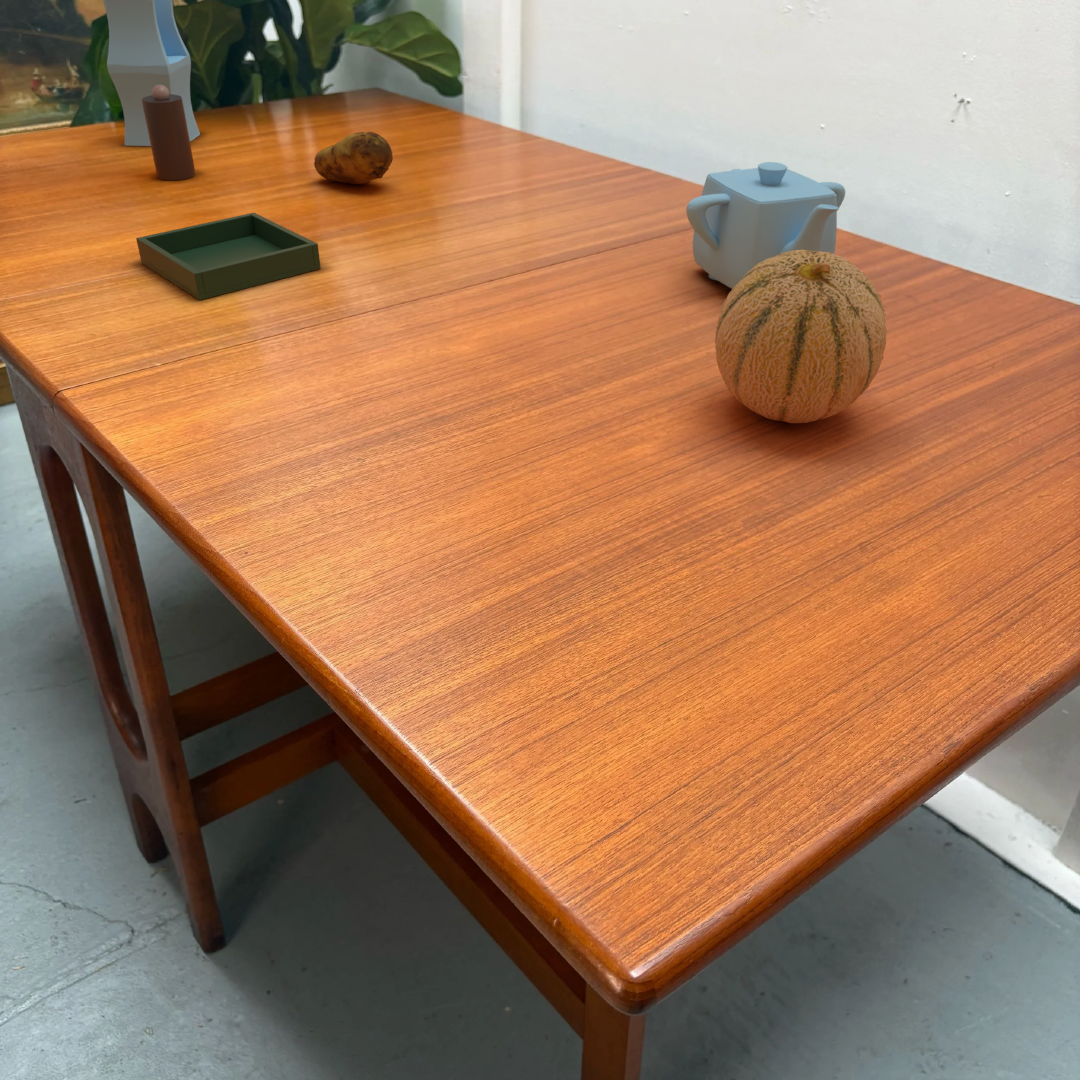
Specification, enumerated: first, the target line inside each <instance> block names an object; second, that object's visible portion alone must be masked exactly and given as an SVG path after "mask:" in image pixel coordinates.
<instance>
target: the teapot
mask: <svg viewBox="0 0 1080 1080" xmlns="http://www.w3.org/2000/svg"><path fill="white" fill-rule="evenodd" d="M845 196H846V188H845V186H844V185H843V184H841V183H839V182H835V181H821V182H820V181H819V182H818V181H816V180H815V179H812V178H810V177H808V176H805V175H803V174H802V173H798V172H796V171H794V170H791V169H788V166H787V165H785V164H783V163H781V162H775V161H767V162H762V163H761V162H760V163H759V164H757V167H754V168H743V169H740V168H735V169H734V168H733V169H731V170H727V171H717V172H710V173H708V174H707V175H706V178H705V182H704V184H703V189H702V193H701V195H700V196H696V197H694V198H692V199H691V200H690V201H689V202H688V203H687V205H686V209H685V210H686V211H685V212H686V216H687V220H688V222H689V224H690V226H691V228H692V229H693V235H692V236H693V237H692V255H693V259H694V262H695V264H697V265H698V266H699V267H700V268H701V269H702V270H703V271H705V273H707V274H708V278H709V279H711V280H713V281H717V282H719V283H721V284H722V285H725V286H726V287H728V288H729V289H731V290H732V289H733V288H734V287H735V286H736V285H737V284H738V282H739V281H740V280H741V279H742V278H743V277H744V276H745V275H746V273H747V272H748V271H750V270H751V269H752V268H753V267H754V266H756V265H757V264H758V263H760V262H762V261H765V260H766V259H768V258H771V257H774V256H776V255H779V254H781V253H784V252H789V251H793V250H810V251H820V252H829V253H832V254H835V253H836V245H837V230H838V229H837V226H838V225H837V224H838V211H839V209H840V207H841V205H843V202H844V200H845ZM835 255H836V254H835Z"/></svg>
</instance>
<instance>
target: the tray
mask: <svg viewBox="0 0 1080 1080" xmlns="http://www.w3.org/2000/svg"><path fill="white" fill-rule="evenodd" d="M135 239H136V244H137V248H138V253H139V258H140V262H141V264H143V265H144V266H146V267H147V268H148V269H150V270H152V271H153V272H155V273H156V274H158V275H159V276H161V277H162V278H164V279H166V280H167V281H169V282H171V284H173V285H174V286H176V287H178V288H179V289H181V290H182V291H184V292H186V293H187V294H188V295H190V296H192V297H194V298H195V299H197V300H198V301H202V300H206V299H210V298H215V297H218V296H221V295H222V296H223V295H225V294H229V293H233V292H237V291H240V290H245V289H248V288H253V287H256V286H261V285H264V284H268V283H272V282H276V281H279V280H283V279H287V278H290V277H291V278H292V277H294V276H298V275H302V274H307V273H310V272H314V271H318V270H321V269H322V268H321V259H320V252H319V244H318V243H317V242H315V241H313V240H311V239H309V238H307V237H305V236H303V235H301V234H299V233H297V232H294V231H293V230H291V229H288V228H287V227H286V226H285V227H284V226H283V225H280V224H279V223H276V222H274V221H273V220H270V219H268V218H266V217H264V216H262V215H261V214H259V213H256V212H249V213H246V214H240V215H237V216H236V215H235V216H232V217H227V218H223V219H217V220H212V221H208V222H204V223H203V222H202V223H199V224H196V225H195V224H194V225H191V226H190V225H189V226H185V227H180V228H176V229H171V230H167V231H163V232H157V233H152V234H149V235H144V236H139V237H136V238H135Z"/></svg>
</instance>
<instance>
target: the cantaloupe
mask: <svg viewBox="0 0 1080 1080" xmlns="http://www.w3.org/2000/svg"><path fill="white" fill-rule="evenodd" d="M881 298H882V295H881V294H880V293H879V291H878V290H877V288H876V286H875V284H874V283H873V282H872V280H871V279H870V278H869V277H868V276H867V275H866V273H864V271H862V270H861V269H860V268H859V267H857V266H855V265H854V264H853V263H852V262H851V261H850V260H849V259H848V258H847V259H846V258H845V257H842V256H841V255H838V254H832V253H829V252H820V251H810V250H793V251H789V252H784V253H781V254H779V255H776V256H774V257H771V258H768V259H766V260H765V261H762V262H760V263H758V264H757V265H756V266H754V267H753V268H752V269H751V270H750V271H748V272H747V273H746V275H745V276H744V277H743V278H742V279H741V280H740V281H739V282H738V284H737V285H736V286H735V287H734V288H733V289H731V291H729V293H728V294H727V297H726V298H725V299H724V301H723V303H722V306H721V309H720V311H719V314H718V318H717V322H716V327H715V329H716V330H715V338H714V344H715V346H714V347H715V348H714V349H715V358H716V364H717V367H718V371H719V373H720V375H721V378H722V380H723V382H724V385H725V386H726V387H727V389H728V391H729V392H730V394H732V395H733V397H735V399H736V400H737V401H739V402H740V403H741V404H743V405H744V407H746V408H748V409H749V410H751V411H752V412H754V413H755V414H758V415H759V416H762V417H764V418H766V419H768V420H773V421H776V422H777V421H778V422H785V423H788V424H807V423H811V422H815V421H819V420H824V419H826V418H830V417H833V416H835V415H837V414H839V413H840V412H843V411H844V410H845V409H847V408H849V407H850V406H851V405H852V404H853V403H855V402H856V401H857V399H859V397H861V396H862V395H863V394H864V392H865V391H867V389H868V388H869V387H870V385H871V383H872V382H873V380H874V379H875V377H876V376H877V374H878V371H879V369H880V367H881V364H882V362H883V360H884V358H885V357H884V353H885V350H886V345H887V334H888V333H887V327H886V326H887V325H886V313H885V311H886V309H884V308H885V306H884V304H883V301H882V299H881Z"/></svg>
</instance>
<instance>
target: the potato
mask: <svg viewBox="0 0 1080 1080" xmlns="http://www.w3.org/2000/svg"><path fill="white" fill-rule="evenodd" d="M393 159H394V158H393V150H392V148H391V145H390V144H389V142H388V140H387V139H386V138H384V137H383V136H382V135H380V134H378V133H376V132H374V131H368V132H366V131H361V132H355V133H351V134H349V135H347V136H345V137H344V138H343V139H341V140H340V141H338V142H337V143H335V144H332V145H330V146H327V147H325V148H322V149H321V150H319V151H318V152H317V153H316V155H315V156H314V163H313V164H314V165H313V166H314V168H315V170H316V171H317V174H319V176H321V178H323V179H325V180H327V181H332V182H333V181H334V182H340V183H342V184H343V183H344V184H348V185H365V184H368V183H370V182H372V181H375V180H378V179H382V178H383V177H384V175H385V174H386V173H387V171H389V168H390V166H391V164H392V163H393V161H394V160H393Z"/></svg>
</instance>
